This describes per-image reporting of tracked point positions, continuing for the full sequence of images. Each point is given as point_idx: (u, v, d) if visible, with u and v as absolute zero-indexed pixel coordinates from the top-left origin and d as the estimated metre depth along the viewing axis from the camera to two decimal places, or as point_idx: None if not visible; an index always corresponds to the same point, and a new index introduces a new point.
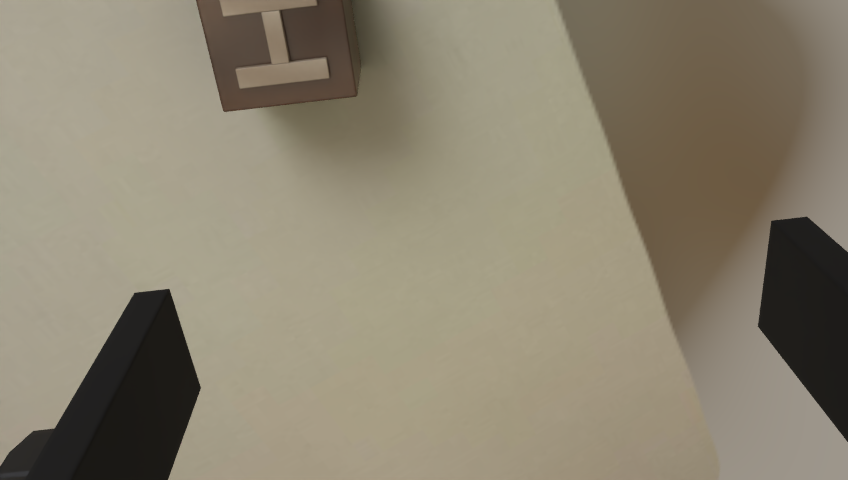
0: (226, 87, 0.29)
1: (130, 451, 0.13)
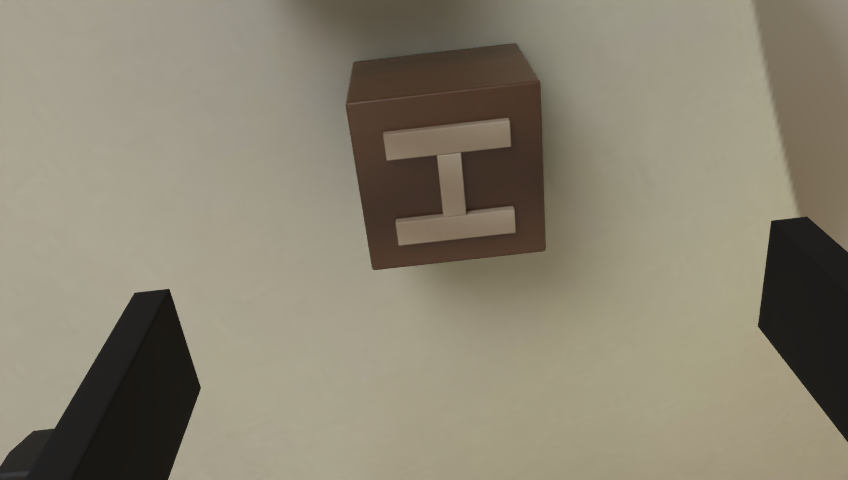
0: (379, 242, 0.23)
1: (130, 451, 0.13)
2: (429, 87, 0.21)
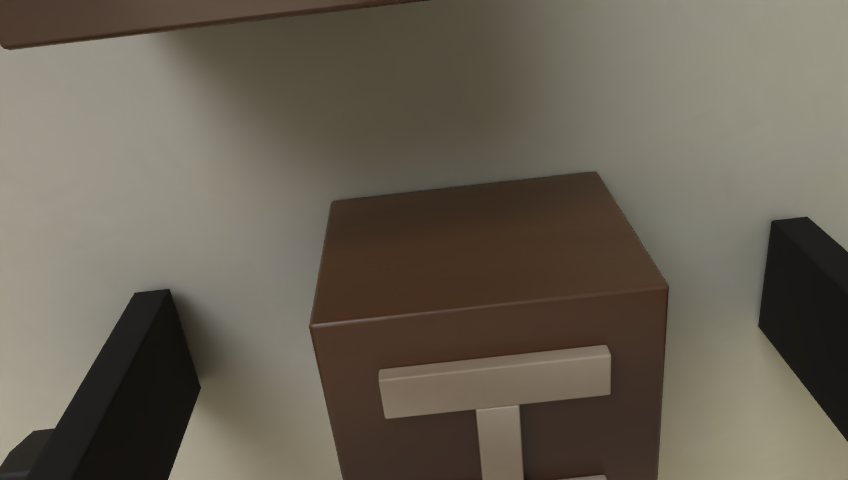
0: None
1: (130, 451, 0.13)
2: (461, 286, 0.12)
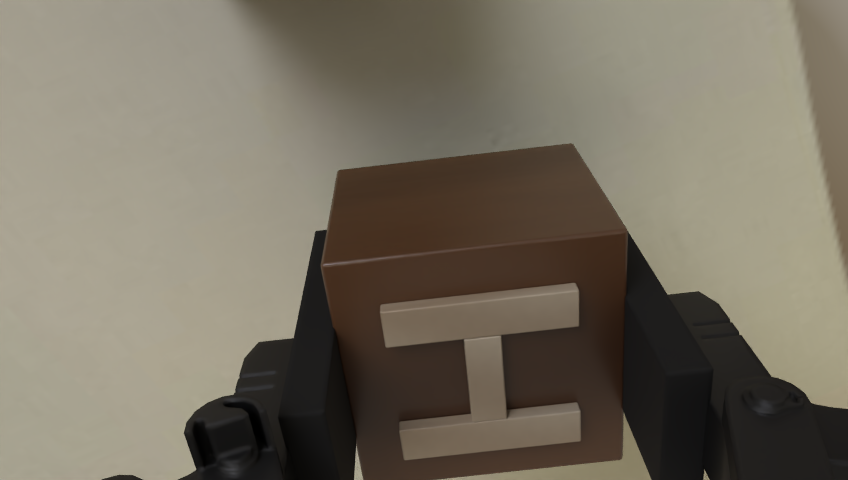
0: (375, 451, 0.15)
1: None
2: (451, 233, 0.14)
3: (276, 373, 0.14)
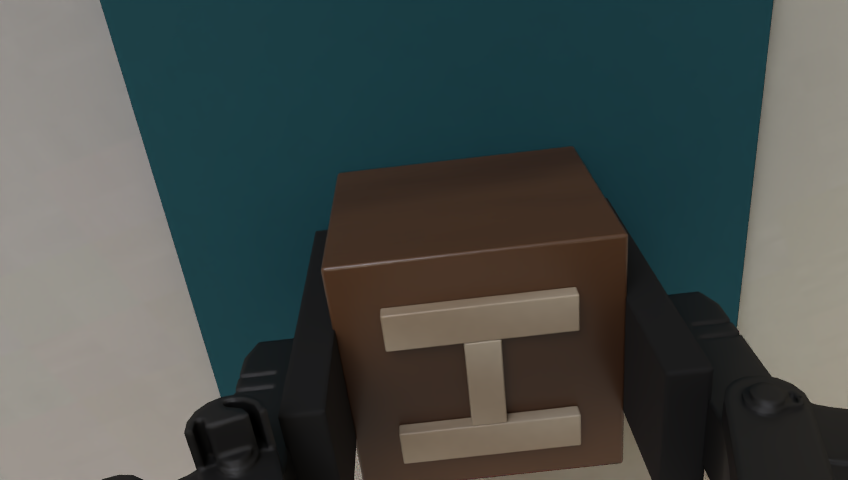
0: (375, 455, 0.15)
1: None
2: (451, 237, 0.14)
3: (276, 373, 0.14)
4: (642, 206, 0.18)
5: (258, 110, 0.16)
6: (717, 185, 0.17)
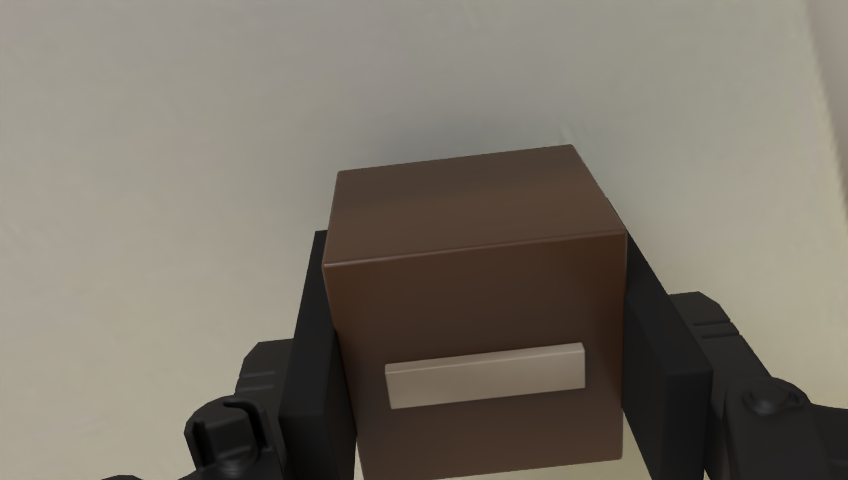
0: None
1: None
2: None
3: (276, 373, 0.14)
4: None
5: None
6: None
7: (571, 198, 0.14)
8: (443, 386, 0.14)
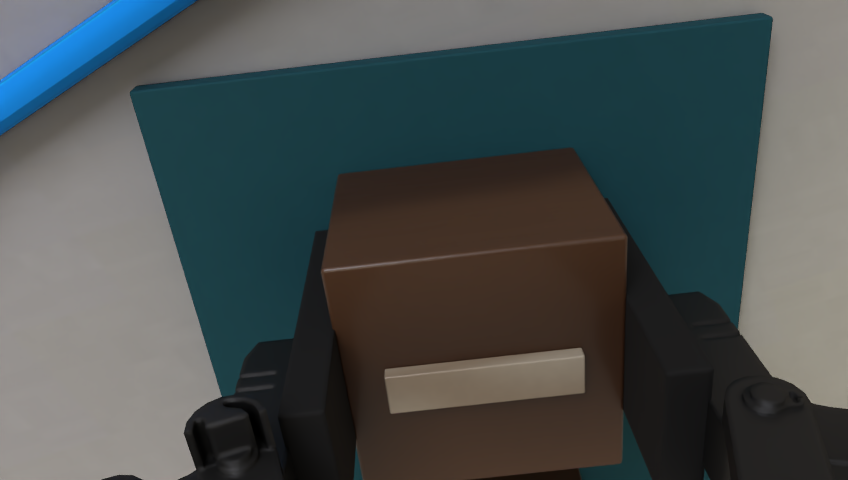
0: None
1: None
2: None
3: (276, 373, 0.14)
4: None
5: None
6: None
7: (572, 203, 0.14)
8: (443, 390, 0.14)
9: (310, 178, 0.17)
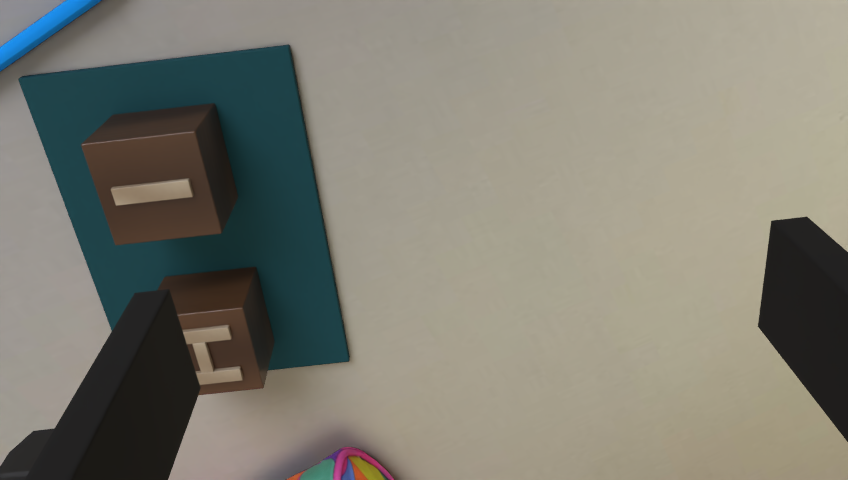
0: None
1: (130, 451, 0.13)
2: (187, 307, 0.40)
3: None
4: (290, 288, 0.44)
5: (131, 254, 0.42)
6: (318, 280, 0.44)
7: (188, 122, 0.36)
8: (135, 195, 0.36)
9: (101, 117, 0.39)
